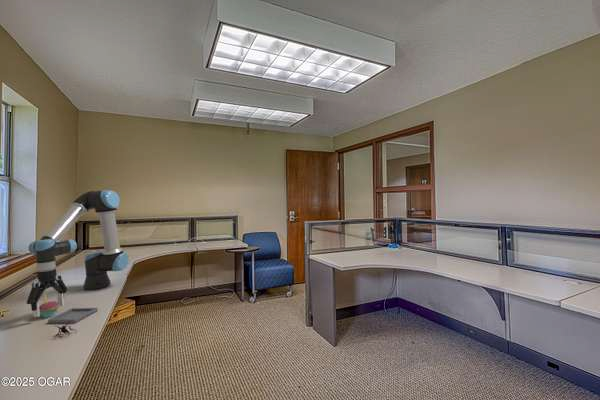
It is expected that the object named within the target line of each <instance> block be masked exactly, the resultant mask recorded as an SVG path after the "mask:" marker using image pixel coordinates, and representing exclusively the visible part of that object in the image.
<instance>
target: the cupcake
mask: <svg viewBox="0 0 600 400" xmlns="http://www.w3.org/2000/svg"><path fill="white" fill-rule="evenodd" d="M42 295H43V298H44V303H42V304H41V305H40V304H39V312H40V314H41V315H42V317H43V318H44V319H46V318H53V317H55V316H56V314H57V311H58V309H59V308H60V307H61V306H60V304H59V303H58V301H47V298H46V297H47V296H46V294H45V293H44V292H43V293H42Z"/></svg>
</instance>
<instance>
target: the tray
mask: <svg viewBox="0 0 600 400" xmlns="http://www.w3.org/2000/svg"><path fill="white" fill-rule="evenodd" d="M98 311H99V310H98V307H72V308H69V309H68V310H66V311H63V312H61V313H60V314H57V315H54V316H52V317H50V318H49V319H47V324H50V323H54V324H68V323H69V322H70V323H69V324H77V323H79V322H80V320H81V321H82V320H84V319H85V318H87V317H89V316H91V315H93V314H96V313H97V312H98Z"/></svg>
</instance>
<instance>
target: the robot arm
mask: <svg viewBox="0 0 600 400" xmlns="http://www.w3.org/2000/svg"><path fill="white" fill-rule="evenodd" d="M120 201H121V199H120V197H119V194H118V193H117V192H115V191H114V190H109V189H108V190H107V189H103V190H89V191H85V192H84V193H82V194H81V195H79V196H78V197H76V198H75V199H74V200H73V201H72V202H71V203H70V205H69V208H68V209H67V211H65V212H64V213H63V214H62V215H61V216H60V218H59V219H57V220H56V222H55V223H54V224H53V225H52V226H51V227H50V228H49V229H48V230H47V232H45V234H44V235H42V237H41V238H40V239H39V240H34V241H32V242H30V243H29V245H28V252H29V253H30V255H31V254H32V255H35V263H36V264H35V265H36V278H37V280H38V282H33V283H31V289H30V292H29V296H28V297H27V300H26V305H30V306H31V307H30V308H31V311H32V317H33V318H37V317H38V318H39V317H40V314H41V312H39V306H40V303H39V300H40V298H41V297H42V295H43V293H44V292H45V291H46V290H47V289H49V288H52V289H54V291H56V292H57V294H56V295H57V297H56V298H57V302H58V303H59V304H60V306H59V307H61V306H62V307H63V306H65V300H64V299H65V293H66V292H67V291H68V288H67V286H66V284H65V283H64V280H63V278H62V275H57V269H56V268H57V262H56V257H57V256H61V255H67V254H71V253H73V252H75V251H76V250H77V249H78V245H77V242H76V241H75V240H74V239H64V240H61V239H62V238H64V236H65V235H66V234H67V232H68V231H69V230H70V229H71V228H72V227H73V226H74V225H75V223H76V222H77V221H78V220H79V219H80V218H81V216H82V215H84V214H86V213H87V212H88V211H91V210H94V212H95V214H97V215H98V217H99V224H100V230H101V235H102V236H101V237H102V240H103V241H102V242H103V247H104V250H101V251H96V252H91V253H88V254H86V255H85V256H84V265H85V266H84V267H85V280H84V282H83V286H82V287H83V290H85V291H93V290H94V291H95V290H99V289H104V288H106V287H109V286H111V279H110V278H109V277H110V276H109V275H108V272H119V271H120V272H121V271H123V270H124V269H125V268H127V266H128V264H129V255H128V254H127V252H126V253H125V252H124V249H123V248H122V247H121V246H120V239H119V233H118V227H117V219H116V212H117V208H118V207H119V206H120V203H121V202H120Z"/></svg>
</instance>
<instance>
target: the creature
mask: <svg viewBox="0 0 600 400" xmlns="http://www.w3.org/2000/svg"><path fill="white" fill-rule="evenodd" d="M69 324H71V323H70V322H69V323H66V325H63V326H62V327H60V326H58V325H55V327H57V328H58V333H57V334H56V335H55V336H54V340H56V341H57V339H56V337H57V336H58V335H61V333H63V334H64V335H65V337H66V338H67V337H69V336H70V332H69V330H70V331H75V334H77V333H78V331H77V329H73V328H71V325H69ZM67 326H68V328H67ZM68 329H69V330H68ZM66 333H67V334H66Z"/></svg>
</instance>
